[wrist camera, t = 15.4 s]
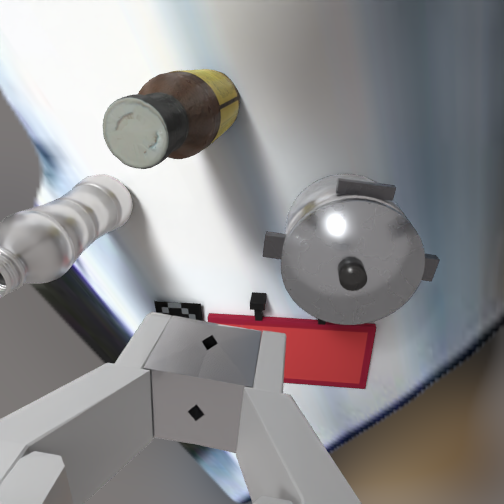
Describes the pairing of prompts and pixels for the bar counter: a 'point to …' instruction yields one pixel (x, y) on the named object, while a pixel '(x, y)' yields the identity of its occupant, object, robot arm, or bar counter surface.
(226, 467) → the bar counter surface
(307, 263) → the lid
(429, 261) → the pot
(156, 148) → the sauce bottle
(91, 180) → the plastic bottle
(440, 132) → the bar counter surface
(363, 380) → the red board with handle
